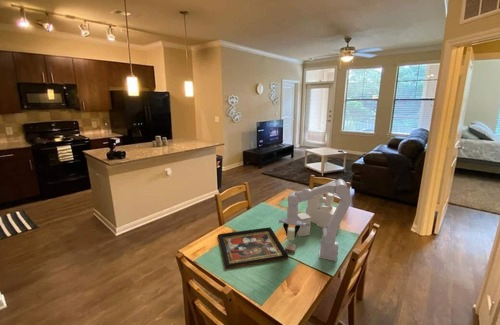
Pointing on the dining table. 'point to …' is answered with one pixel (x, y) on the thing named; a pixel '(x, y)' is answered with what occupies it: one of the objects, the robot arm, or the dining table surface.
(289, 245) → the walnut base
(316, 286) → the dining table surface
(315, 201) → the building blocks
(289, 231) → the sage block
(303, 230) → the supplement box
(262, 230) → the framed icon painting
